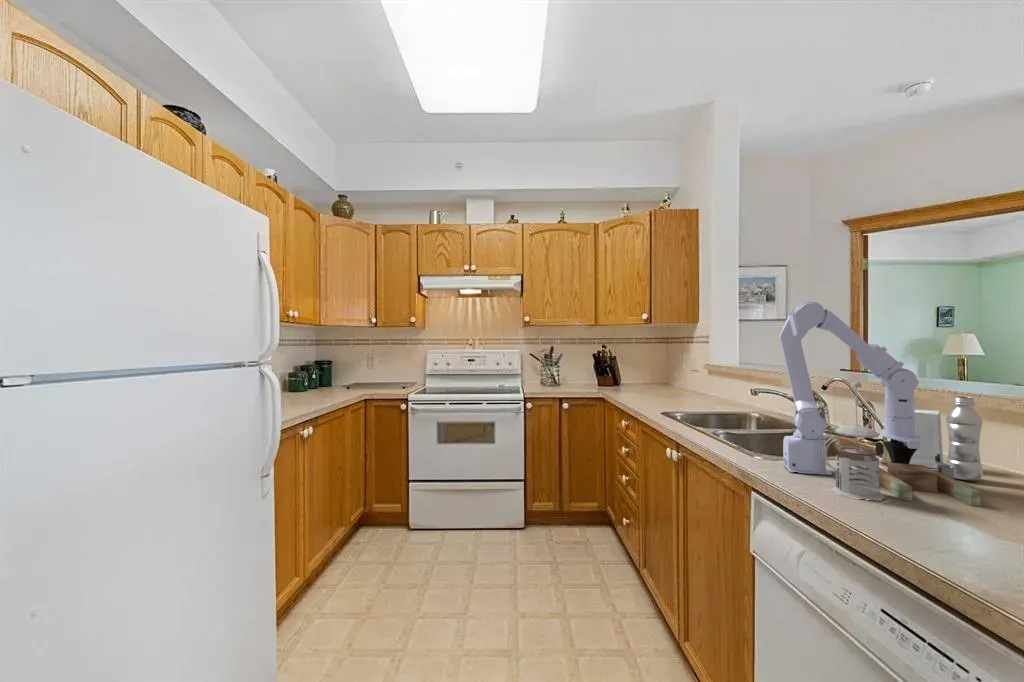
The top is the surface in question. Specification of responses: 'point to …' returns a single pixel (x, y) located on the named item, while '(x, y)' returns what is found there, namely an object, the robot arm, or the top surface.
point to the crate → (914, 476)
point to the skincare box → (928, 438)
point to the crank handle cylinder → (944, 467)
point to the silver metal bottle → (964, 439)
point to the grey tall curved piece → (856, 463)
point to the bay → (943, 483)
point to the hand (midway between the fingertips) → (900, 471)
